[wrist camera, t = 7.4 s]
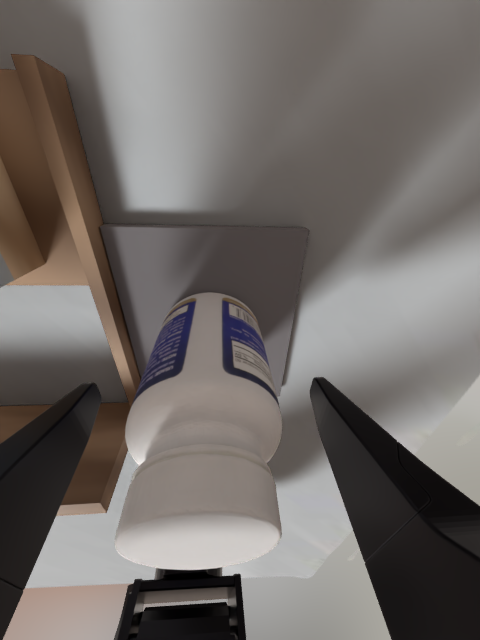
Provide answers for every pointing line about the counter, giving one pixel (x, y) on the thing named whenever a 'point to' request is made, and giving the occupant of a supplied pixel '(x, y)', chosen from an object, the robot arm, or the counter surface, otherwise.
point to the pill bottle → (203, 443)
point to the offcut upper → (4, 273)
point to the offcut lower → (16, 232)
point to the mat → (207, 277)
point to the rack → (65, 254)
